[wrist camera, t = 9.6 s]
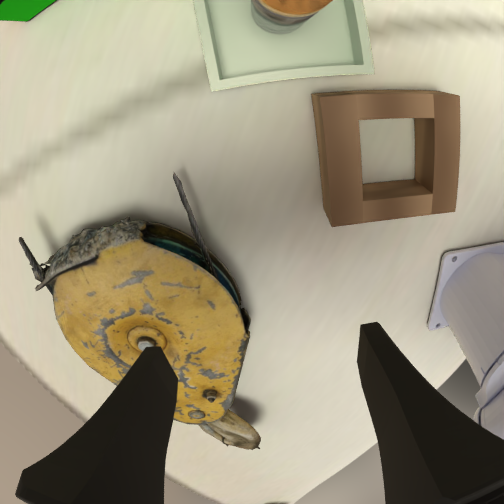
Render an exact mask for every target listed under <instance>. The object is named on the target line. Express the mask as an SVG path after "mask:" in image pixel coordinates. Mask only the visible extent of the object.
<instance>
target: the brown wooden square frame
mask: <svg viewBox="0 0 504 504" xmlns="http://www.w3.org/2000/svg"><path fill="white" fill-rule="evenodd" d="M311 96H312V103H313V111H314V118H315V126H316V135H317V143H318V153H319V162H320V172H321V183H322V195H323V207H324V210H325V213H326V215H327V217H328V219H329V222H330V224H331V226H332V227H336V226H343V225H351V224H359V223H367V222H375V221H382V220H390V219H398V218H407V217H415V216H423V215H431V214H440V213H448V212H455V208H456V199H457V188H458V176H459V159H460V96H458V95H454V94H450V93H445V92H440V91H427V90H363V91H342V92H328V93H316V94H311ZM389 118H414V119H415V179H411V180H400V181H389V182H378V183H368V184H362V165H361V148H360V133H359V121H358V120H367V119H389Z"/></svg>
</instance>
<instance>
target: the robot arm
mask: <svg viewBox="0 0 504 504" xmlns="http://www.w3.org/2000/svg"><path fill="white" fill-rule="evenodd" d="M454 256H455V257H454ZM453 257H454V258H453ZM452 258H453V259H452ZM447 326H449V327H450V328H451V330H452V332H453V334H454V336H455V337H456V339H457V341H458V343H459V345H460V347H461V349H462V351H463V352H464V354H465V356H466V358H467V360H468V362H469V364H470V366H471V368H472V370H473V372H474V374H475V376H476V378H477V381H478V382H479V385H480V387H481V389H480V391H479V392H478V393H477V394H476V395H475V397H476V399H477V402H478V404H479V408H478V409H477V410H476V412H475V414H474V418H473V420H472V419H471V418H469V417H468V416H467V415H465V414H464V413H462V412H461V411H460V410H459V409H457V408H456V407H455V406H454V405H453V404H451V403H450V402H449V401H448V400H447V399H446V398H444V397H443V396H442V395H441V394H440V393H439V392H438V391H437V390H436V389H435V388H434V387H433V386H432V385H431V384H430V383H429V382H428V381H427V380H426V379H425V378H424V377H423V376H422V375H421V374H420V373H419V372H418V371H417V369H416V368H415V367H414V366H413V365H412V364H411V363H410V361H409V360H408V359H407V358H406V357H405V356H404V354H403V353H402V352H401V351H400V350H399V348H398V347H397V346H396V345H395V343H394V342H393V341H392V340H391V338H390V337H389V336H388V334H387V333H386V332H385V330H384V329H383V328H382V326H381V325H380V324H379V323H378V322H374V323H368V324H362V325H361V326H360V337H359V348H358V357H357V363H358V369H359V374H360V379H361V385H362V388H363V392H364V395H365V398H366V402H367V405H368V408H369V412H370V415H371V418H372V422H373V425H374V429H375V432H376V436H377V440H378V444H379V450H380V457H381V463H382V471H383V479H384V489H385V501H386V504H504V242H500V243H495V244H489V245H484V246H478V247H473V248H467V249H461V250H456V251H450V252H446V253H445V254H444V255H443V257H442V261H441V267H440V272H439V277H438V282H437V287H436V291H435V296H434V300H433V304H432V308H431V313H430V317H429V320H428V324H427V327H428V329H429V330H435V329H439V328H443V327H447ZM177 391H178V377H177V376H176V374H175V372H174V370H173V368H172V367H171V365H170V363H169V361H168V359H167V357H166V356H165V354H164V352H163V350H162V348H161V346H152V347H146V348H145V349H144V350H143V352H142V353H141V354H140V356H139V357H138V358H137V360H136V361H135V362H134V364H133V365H132V367H131V368H130V369H129V371H128V372H127V373H126V375H125V376H124V378H123V379H122V380H121V382H120V383H119V384H118V386H117V387H116V388H115V390H114V391H113V392H112V393H111V395H110V396H109V397H108V398H107V400H106V401H105V402H104V403H103V404H102V406H101V407H100V408H99V409H98V411H97V412H96V413H95V414H94V415H93V416H92V417H91V418H90V419H89V420H88V421H87V422H86V423H85V424H84V425H83V427H81V428H80V429H79V430H78V431H77V432H76V433H75V434H74V435H73V436H71V437H70V438H69V439H68V440H67V441H66V442H65V443H64V444H62V445H61V446H60V447H59V448H57V449H56V450H54V451H53V452H52V453H50V454H49V455H48V456H46V457H45V458H43V459H41V460H40V461H38V462H37V463H35V464H33V465H31V466H30V467H28V468H26V469H24V470H23V471H22V474H21V477H20V480H19V484H18V487H17V490H16V493H15V495H16V497H17V498H19V499H21V500H22V501H24V502H26V503H28V504H164V475H165V460H166V453H167V447H168V442H169V437H170V432H171V428H172V423H173V418H174V413H175V408H176V403H177Z"/></svg>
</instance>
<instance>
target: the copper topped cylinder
mask: <svg viewBox="0 0 504 504" xmlns="http://www.w3.org/2000/svg"><path fill="white" fill-rule="evenodd" d="M332 1H333V0H251V14H252V17H253V20H254V21H255V23H256V24H257V25H258V26H259V27H260V28H261V29H263V30H264V31H267V32H269V33H272V34H287V33H290V32H293V31H295V30H296V29H298V28H299V27H300V26H301V25H303V24H304V23H305V22H306V21H308V20H309V19H310V18H311V17H313V16H314V15H315V14H316V13H318V12H319V11H320V10H321V9H323V8H324V7H325V6H327V5H328V4H329V3H330V2H332Z"/></svg>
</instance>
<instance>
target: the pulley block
mask: <svg viewBox="0 0 504 504" xmlns="http://www.w3.org/2000/svg"><path fill="white" fill-rule="evenodd" d="M173 179H174V181H175V184H176V186H177V189H178V192H179V195H180V198H181V201H182V203H183V205H184V207H185V209H186V211H187V213H188V217H189V221H190V224H191V230H192V233H193V235H194V238H195V239H194V238H192V237H190V236H188V235H187V234H185V233H183V232H181V231H179V230H176V229H174V228H171V227H168V226H166V225H163V224H160V223H149V222H145V221H142V220H134V221H130V218H129V217H127V218H126V219H125V220H120V221H122V223H121V222H116V223H115V224H114V225H113V226H109V227H107V228H106V227H101V228H100V229H98V230H96V229H83V231H82V233H81V234H79V235H75V236H74V235H73V237H72V240H71V241H70V242H69V244H67V245H66V246H64V247H62V248H60V249H59V250H58V252H57V253H56V254H54V255H52V256H51V257H50V258H49V260H48V261H47V262H45V264H43V263H42V264H41V265H39V264H38V263H37V261H36V259H35V258H34V256H33V255H32V253H31V251H30V250H29V248H28V247H27V245H26V243H25V242H24V240H23V238H22V237H19V242H20V244H21V246H22V248H23V250H24V251H25V254H26V256H27V258H28V259H29V261H30V265H31V266H32V267H34V268H32V270H33V273H34V275H35V279H37V280H39V281H40V282H41V284H40V285H37V287H36V288H35V289H36V291H38V290H40V289H41V288H43V287H44V286H46V287H47V288H48V290H49V291H50V293H51V294H52V295H53V302H54V310H55V315H56V319H57V321H58V323H59V326H60V328H61V330H62V332H63V334H64V336H65V338H66V340H67V341H68V342H69V344H70V345H71V347H72V348H73V349H74V351H75V352H76V353H77V354H78V355H79V356H80V357H81V358H82V359H83V360H84V361H85V362H86V364H87V365H88V366H89V367H91V368H92V369H94V370H95V371H96V372H98V373H99V374H101V375H102V376H103V377H105V378H106V379H108V380H109V381H111V382H112V383H114V384H115V385H116V386H118V384H119V383H120V382H121V380H122V379H123V378H124V376H125V375H126V373H127V372H128V371H129V369H130V368H131V367H132V365H133V364H134V362H135V361H136V360H137V358H138V357H139V356H140V354H141V353H142V352H143V350H144V349H145V348H146V347H152V346H161V348H162V350H163V352H164V354H165V356H166V357H167V359H168V361H169V363H170V365H171V367H172V368H173V370H174V372H175V374H176V376H177V377H178V391H177V403H176V408H175V413H174V418H173V420H176V421H179V422H183V423H186V424H197V425H199V426H200V427H201V428H202V429H203V430H204V431H205V432H206V433H208V434H210V435H211V436H213V437H215V438H216V439H218V440H220V441H222V442H223V443H224V444H226V445H227V446H228V445H232V446H236V447H239V448H244V449H251V450H253V449H255V448H258V449H260V448H259V447H258V446H259V443H260V441H261V437H260V436H259V434H258V432H257V431H256V430H255V429H254V428H253V427H252V426H251V425H250V424H249V423H247V422H246V421H245V420H243V419H242V418H240V417H239V416H238V415H236V414H235V413H233V412H232V411H230V410H229V409H228V408H229V407H230V406H232V404H233V402H234V397H235V393H236V389H237V385H238V381H239V377H240V373H241V369H242V365H243V361H244V357H245V353H246V349H247V345H248V342H249V338H250V331H249V330H248V329H249V325H250V322H251V319H250V317H249V315H248V314H247V312H246V310H245V309H244V308H243V309H241V308H240V305H241V302H240V301H241V297H240V293H239V289H238V287H237V284H236V282H235V280H234V279H233V277H232V276H231V274H230V273H229V271H228V270H227V268H226V266H225V265H224V264H223V263H222V262H221V261H220V260H219V259H218V258H217V257H216V256H215V255H214V254H213V253H212V252H211V251H210V250H208V249H207V248H206V246H205V244H204V241H203V239H202V236H201V234H200V231H199V229H198V226H197V223H196V221H195V218H194V215H193V213H192V210H191V208H190V206H189V204H188V201H187V199H186V196H185V193H184V191H183V187H182V183H181V181H180V180H179V178H178V177H177V176H176V174H175V173H174V174H173ZM46 264H51V265H50V266H47V265H46ZM43 265H46V267H45V268H44V269H43V268H42V267H41V266H43Z"/></svg>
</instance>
